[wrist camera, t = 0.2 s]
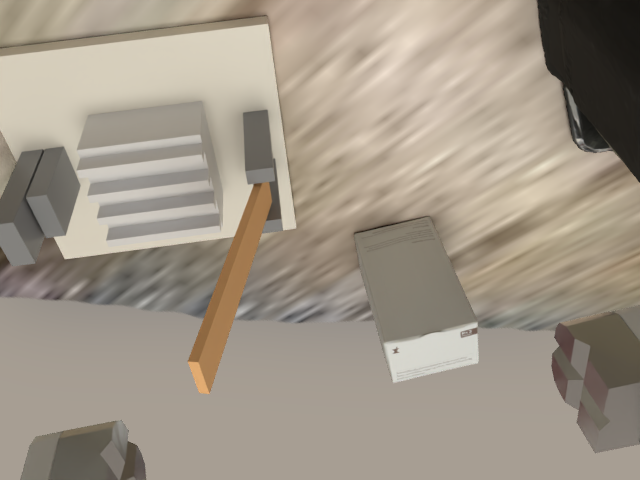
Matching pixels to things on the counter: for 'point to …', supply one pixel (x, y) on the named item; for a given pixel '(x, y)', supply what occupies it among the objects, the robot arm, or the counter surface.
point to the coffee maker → (597, 71)
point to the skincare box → (416, 300)
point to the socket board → (140, 83)
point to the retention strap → (229, 289)
